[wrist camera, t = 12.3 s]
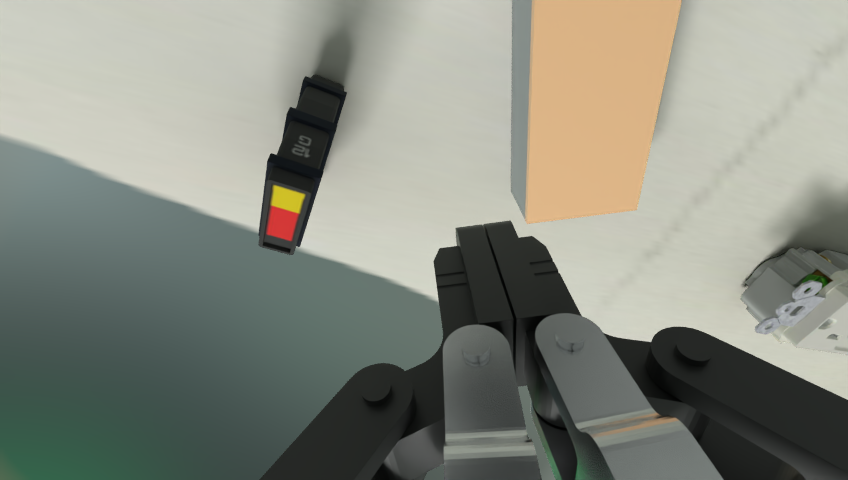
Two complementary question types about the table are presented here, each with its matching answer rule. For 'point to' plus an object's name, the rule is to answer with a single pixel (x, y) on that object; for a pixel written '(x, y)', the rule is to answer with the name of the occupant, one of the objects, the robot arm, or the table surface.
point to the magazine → (299, 164)
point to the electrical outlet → (802, 299)
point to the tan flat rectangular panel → (593, 103)
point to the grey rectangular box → (520, 97)
